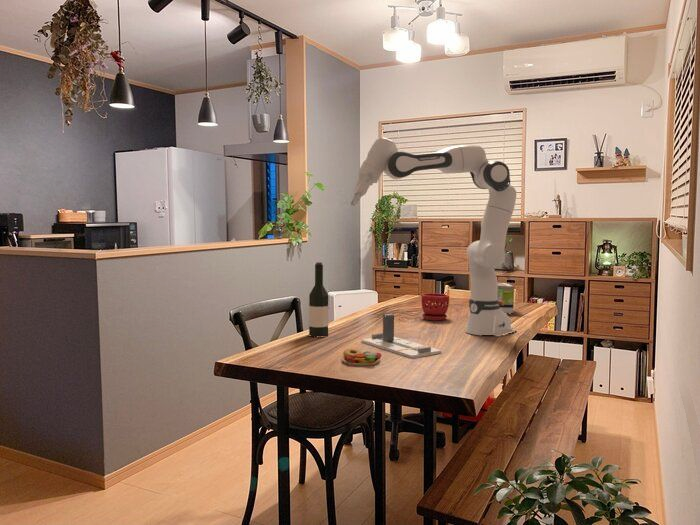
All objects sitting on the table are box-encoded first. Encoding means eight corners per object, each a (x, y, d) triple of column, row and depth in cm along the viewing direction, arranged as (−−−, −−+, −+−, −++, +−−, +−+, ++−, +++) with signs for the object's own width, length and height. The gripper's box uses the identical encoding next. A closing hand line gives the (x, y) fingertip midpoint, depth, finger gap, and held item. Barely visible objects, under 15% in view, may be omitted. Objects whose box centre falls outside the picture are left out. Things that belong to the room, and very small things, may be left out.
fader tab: (389, 339, 217) (389, 313, 217) (393, 340, 215) (394, 314, 214) (382, 340, 216) (383, 314, 215) (387, 341, 213) (387, 315, 212)
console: (389, 337, 226) (389, 331, 226) (441, 353, 201) (441, 346, 201) (361, 341, 218) (361, 335, 218) (411, 358, 193) (411, 350, 193)
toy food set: (344, 356, 196) (344, 347, 196) (382, 358, 195) (382, 348, 194) (339, 366, 183) (339, 357, 183) (380, 368, 182) (380, 358, 181)
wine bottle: (331, 334, 232) (332, 262, 229) (324, 338, 224) (324, 263, 222) (313, 332, 235) (313, 261, 232) (305, 336, 227) (305, 262, 224)
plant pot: (450, 321, 263) (451, 296, 262) (422, 321, 263) (423, 296, 262) (446, 316, 276) (447, 292, 275) (419, 316, 276) (420, 292, 275)
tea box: (513, 314, 283) (514, 285, 282) (494, 314, 284) (494, 285, 282) (506, 309, 298) (506, 282, 297) (487, 309, 299) (487, 282, 297)
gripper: (379, 175, 218) (362, 207, 218) (373, 180, 238) (357, 209, 238) (364, 167, 217) (348, 199, 217) (359, 173, 237) (344, 202, 238)
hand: (353, 204), depth 228 cm, fingers open, 8 cm apart
